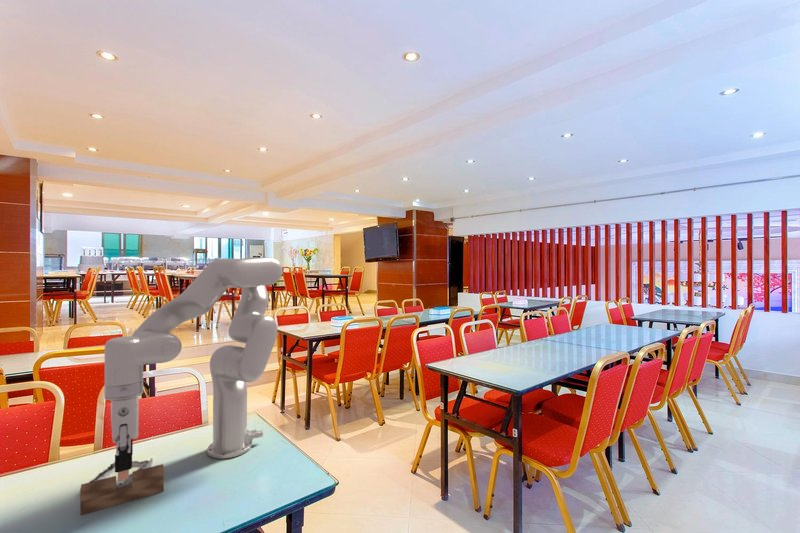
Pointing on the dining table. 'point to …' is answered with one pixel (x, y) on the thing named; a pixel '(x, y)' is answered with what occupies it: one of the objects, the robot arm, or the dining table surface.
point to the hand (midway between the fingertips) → (124, 462)
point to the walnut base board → (121, 489)
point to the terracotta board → (123, 474)
